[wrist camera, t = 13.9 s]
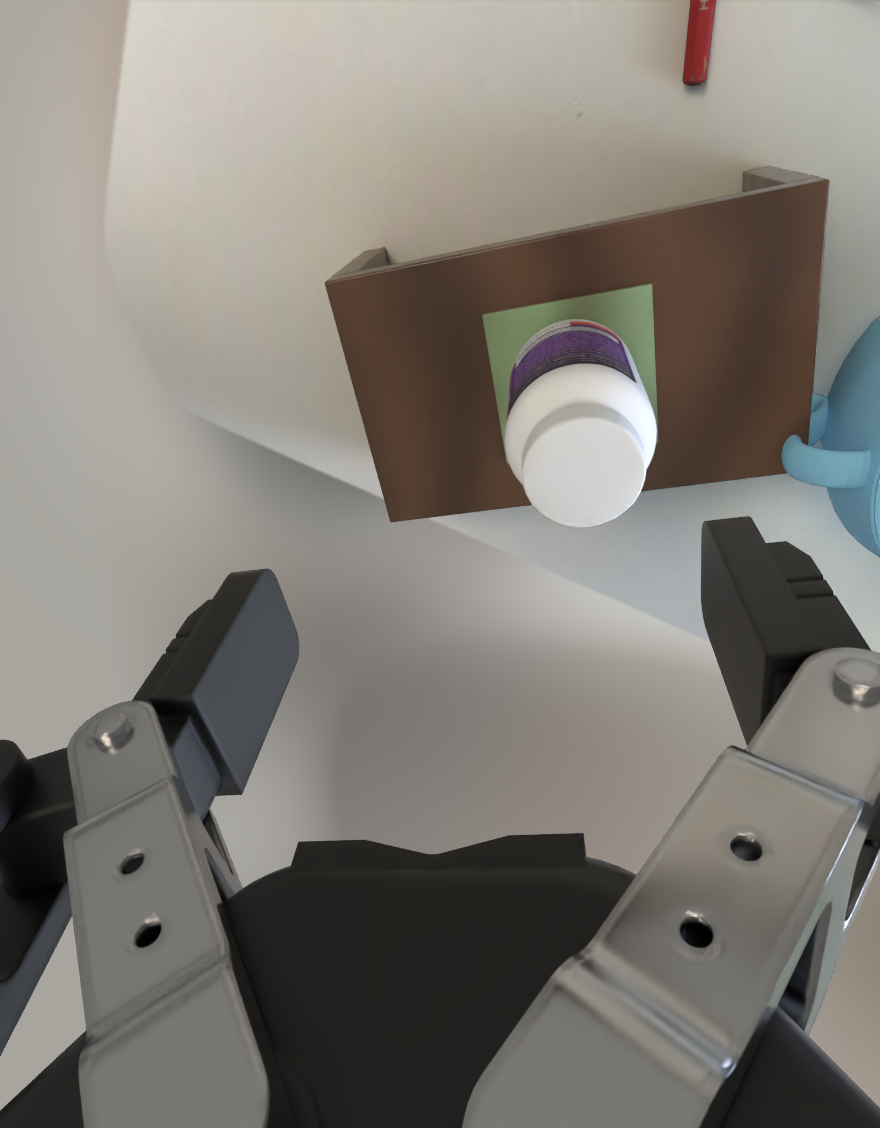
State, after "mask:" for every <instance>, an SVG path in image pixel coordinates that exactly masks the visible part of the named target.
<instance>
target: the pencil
mask: <svg viewBox="0 0 880 1128" xmlns="http://www.w3.org/2000/svg"><path fill="white" fill-rule="evenodd" d="M715 3H716V0H690V10H689V20H688V31H687V41H686V51H685V61H684V72H683V83H684V84H686V85H689V86H696V85H700V84H702V83H703V82H705V81H706V79H707V72H708V63H709V54H710V46H711V37H712V29H713V20H714V11H715Z"/></svg>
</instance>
